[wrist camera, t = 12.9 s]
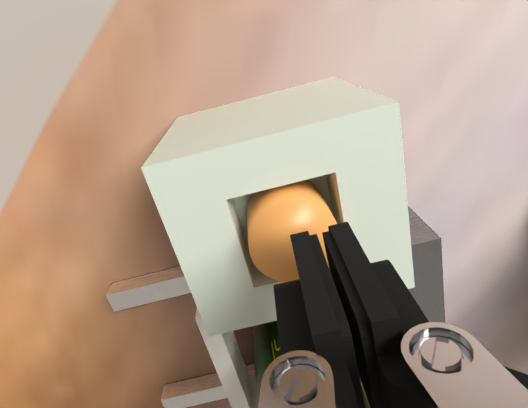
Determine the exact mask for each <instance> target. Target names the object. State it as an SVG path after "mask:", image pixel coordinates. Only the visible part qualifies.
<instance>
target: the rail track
mask: <svg viewBox="0 0 528 408" xmlns="http://www.w3.org/2000/svg"><path fill="white" fill-rule="evenodd" d="M408 213H409V225H410V236H411V248H412V260H413V271H414V283H415V287H414V288H410V289H408V290H409V291H410V293H411V294H412V296H413V298H414V299H415V301H416V302H417V304H418V305H419V307H420V308H421V310H422V311H423V313H424V315H425V316H426V318H427V319H428V321H429V322H443V323H445V312H444V291H443V269H442V247H441V238H440V237H439V236H438V235H437V234H436V233H435V232H434V231H433V230H432V229H431V228H430V227H429V226H428V225H427V224H426V223H425V222H424V221H423V220H422V219H421V218H420V217H419V216H418V215H417V214H416V213H415V212H414V211H413V210H412V209H411V208H410V207H409V206H408ZM189 293H191V291H190V288H189V286H188V284H187V281H186V279H185V276H184V274H183V271H182V269H181V266H179V267H175V268H171V269H167V270H163V271H159V272H155V273H150V274H146V275H142V276H138V277H134V278H130V279H126V280H122V281H118V282H114V283H112V284H111V285H110V287H109V289H108V291H107V293H106V295H105V296H106V298H107V300H108V302H109V304H110V305H111V307H112V309H113V311H114V312H115V311H119V310H123V309H127V308H131V307H135V306H139V305H143V304H148V303H152V302H156V301H160V300H164V299H168V298H172V297H176V296H180V295H184V294H189ZM246 368H247V370H248V373H249V376H252V375H255V364H251V365H247V366H246ZM225 398H227V395H226V393H225V391H224V388H223V386H222V383H221V381H220V379H219V376H218V374H217V373H213V374H209V375H205V376H200V377H196V378H192V379H188V380H183V381H179V382H175V383H171V384H166V385H164V386H163V391H162V396H161V402H162V404H163V406H164V408H186V407H190V406H195V405H199V404H203V403H208V402H212V401H216V400H221V399H225Z"/></svg>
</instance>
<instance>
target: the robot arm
mask: <svg viewBox="0 0 528 408" xmlns="http://www.w3.org/2000/svg"><path fill="white" fill-rule="evenodd" d="M328 229H329V231H327V232H322V234H323V240H324V245H325V250H326V255H327V260H328V264H327V261H326V259H325V256H324V253H323V250H322V247H321V245H320V242H319V239H318V236H317V234H314V235H309V232H308V231H304V232H300V233H296V234H292V235H290V238H291V243H292V247H293V252H294V256H295V261H296V266H297V270H298V275H299V279H298V280H293V281H289V282H284V283H280V284H276V285H274V297H275V307H276V316H277V325H278V335H279V344H280V354H281V356H279V357H278V358H276V359H275V360H274V361H273V362H272V363H270V365H269V366H268V368H267V369H266V371H265V372H264V375H263V378H262V382H261V389H260V397H259V405H258V408H365V403H364V398H363V393H362V387H361V382H362V385H363V388H364V391H365V394H366V397H367V400H368V403H369V406H370V408H528V375H526V374H523V373H521V372H518V371H515V370H512V369H510V368H507V367H504V366H503V365H502V364H501V363H500V362H499V361H498V360H497V359H496V358H495V357H494V356H493V355H492V354H491V353H490V352H489V351H488V350H487V349H486V348H485V347H484V346H483V345H482V344H481V343H480V342H479V341H478V340H477V339H476V338H475V337H473V336H472V335H471V334H469V333H468V332H467V331H465V330H464V329H462V328H459V327H457V326H455V325H452V324H447V323H443V322H429V321H428V319H427V318H426V316H425V315H424V313H423V311H422V310H421V308H420V307H419V305H418V304H417V302H416V301H415V299H414V298H413V296H412V294H411V293H410V291H409V290H408V288H407V287H406V285H405V284H404V282H403V280H402V279H401V277H400V276H399V274H398V273H397V271H396V270H395V268H394V266H393V265H392V263H391V262H390V261H389V260H382V261H378V262H373V263H370V261H369V260H368V258H367V256H366V254H365V252H364V250H363V249H362V247H361V245H360V243H359V241H358V240H357V238H356V236H355V234H354V232H353V230H352V229H351V227H350V225H349V223H348V222H343V223H339V224H335V225H330V226H328ZM328 265H329V267H328ZM359 376H360V377H359ZM360 379H361V382H360Z"/></svg>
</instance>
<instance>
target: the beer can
mask: <svg viewBox="0 0 528 408" xmlns="http://www.w3.org/2000/svg"><path fill="white" fill-rule="evenodd" d="M252 327H253V344H254V361H255V377H256V394H257V408H258V405H259V397H260V389H261V382H262V378H263V375H264V372H265V371H266V369H267V368H268V366H269V365H270V363H272V362H273V361H274V360H275V359H276V358H278V357H279V356H281V354H280V344H279V335H278V325H277V320H276V321H272V322H268V323H264V324H260V325H256V326H252ZM359 377H360V376H359ZM360 382H361V379H360ZM361 387H362V393H363V398H364V403H365V408H370V406H369V403H368V400H367V397H366V394H365V391H364V388H363V385H362V382H361Z"/></svg>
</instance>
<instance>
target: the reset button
mask: <svg viewBox="0 0 528 408" xmlns="http://www.w3.org/2000/svg"><path fill="white" fill-rule="evenodd" d="M246 213H247V229H248V244H249V253H250V257H251V259H252V261H253V263H254V265H255V266H256V267H257V269H258V270H259V271H260V272H262V273H263V274H264V275H266V276H267V277H269V278H271V279H274V280H276V281H280V282H289V281H293V280H298V279H299V275H298V270H297V266H296V261H295V256H294V252H293V247H292V243H291V238H290V235H292V234H296V233H300V232H304V231H308V232H309V235H314V234H317V236H318V239H319V242H320V245H321V247H322V250H323V253H324V256H325V259H326V261H327V264H328V260H327V255H326V250H325V245H324V240H323V234H322V232H327V231H329V229H328V226H330V225H335V224H337V222H336V220H335V218H334V217H333V215H332V213H331V211H330V209H329V207H328V206H327V204H326V202H325V200H324V198H323V196H322V195H321V193H320V191H319V190H318V188H317V187H316V186H315V185H314V184H313V183H312V182H310V181H309V180H303V181H299V182H295V183H291V184H287V185H283V186H279V187H275V188H271V189H267V190H263V191H259V192H255V193H252V194H251V196H250V198H249V200H248V204H247V210H246ZM328 267H329V265H328Z"/></svg>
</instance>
